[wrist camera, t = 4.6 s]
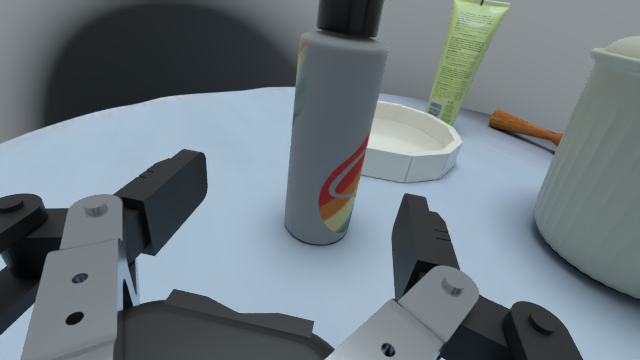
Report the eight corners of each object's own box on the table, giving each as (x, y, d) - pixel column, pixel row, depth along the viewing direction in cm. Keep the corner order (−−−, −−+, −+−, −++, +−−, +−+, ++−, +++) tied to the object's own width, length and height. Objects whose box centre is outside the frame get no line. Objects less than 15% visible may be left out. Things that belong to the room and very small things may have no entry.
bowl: (437, 132, 51) (444, 112, 50) (466, 195, 35) (478, 168, 33) (324, 111, 53) (327, 91, 51) (300, 163, 36) (303, 135, 34)
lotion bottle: (360, 232, 27) (433, -47, 17) (308, 256, 24) (357, -71, 13) (322, 198, 31) (362, -48, 20) (272, 215, 28) (288, -67, 17)
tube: (442, 122, 56) (485, 0, 46) (460, 133, 52) (511, 2, 42) (415, 121, 55) (454, -6, 45) (431, 133, 51) (478, -4, 41)
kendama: (510, 105, 58) (646, 142, 43) (496, 135, 60) (620, 180, 45) (494, 100, 55) (634, 139, 40) (479, 132, 57) (607, 180, 42)
